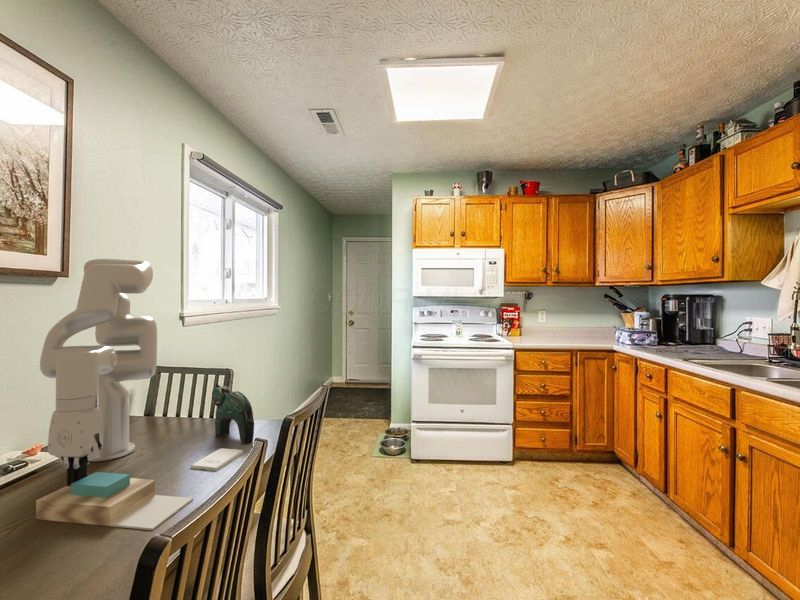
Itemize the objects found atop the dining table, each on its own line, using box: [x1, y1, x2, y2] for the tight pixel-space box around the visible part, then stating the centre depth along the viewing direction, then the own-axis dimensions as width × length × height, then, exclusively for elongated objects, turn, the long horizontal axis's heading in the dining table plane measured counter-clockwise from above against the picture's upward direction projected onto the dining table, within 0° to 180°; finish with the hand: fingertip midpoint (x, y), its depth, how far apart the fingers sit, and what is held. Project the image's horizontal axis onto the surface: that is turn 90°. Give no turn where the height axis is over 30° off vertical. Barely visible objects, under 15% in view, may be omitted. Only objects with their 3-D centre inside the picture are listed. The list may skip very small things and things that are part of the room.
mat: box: [109, 494, 194, 531], centre depth 83 cm, size 10×12×1 cm
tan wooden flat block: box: [35, 477, 156, 527], centre depth 85 cm, size 18×12×4 cm, turn 82°
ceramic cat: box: [211, 379, 255, 446], centre depth 129 cm, size 20×6×20 cm, turn 55°
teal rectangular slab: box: [71, 471, 131, 498], centre depth 85 cm, size 9×6×2 cm, turn 82°
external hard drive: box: [190, 447, 244, 472], centre depth 110 cm, size 2×8×12 cm
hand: (76, 483), depth 86 cm, fingers closed
